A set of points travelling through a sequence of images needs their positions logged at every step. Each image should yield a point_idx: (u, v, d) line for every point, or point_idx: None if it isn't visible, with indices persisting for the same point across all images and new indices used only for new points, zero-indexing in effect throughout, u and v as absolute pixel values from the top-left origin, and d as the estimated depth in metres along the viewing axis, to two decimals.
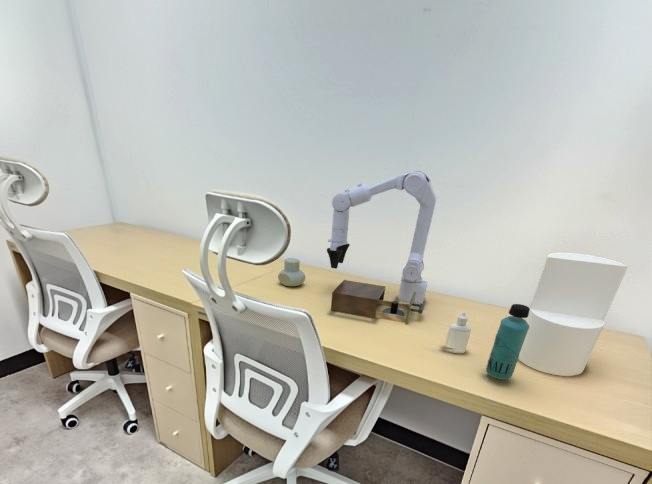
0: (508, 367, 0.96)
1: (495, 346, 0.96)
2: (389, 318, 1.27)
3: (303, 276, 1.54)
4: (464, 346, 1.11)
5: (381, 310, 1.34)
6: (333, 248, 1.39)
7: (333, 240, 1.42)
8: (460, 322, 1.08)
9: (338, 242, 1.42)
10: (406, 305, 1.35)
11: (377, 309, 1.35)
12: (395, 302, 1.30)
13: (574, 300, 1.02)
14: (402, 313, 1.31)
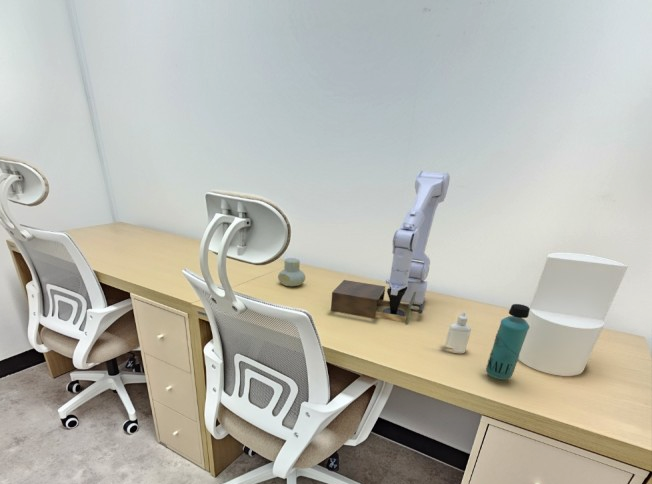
0: (508, 367, 0.96)
1: (495, 346, 0.96)
2: (389, 318, 1.27)
3: (303, 276, 1.54)
4: (464, 346, 1.11)
5: (381, 310, 1.34)
6: (394, 292, 1.21)
7: (393, 282, 1.25)
8: (460, 322, 1.08)
9: (399, 285, 1.24)
10: (406, 305, 1.35)
11: (377, 309, 1.35)
12: None
13: (574, 300, 1.02)
14: (402, 313, 1.31)
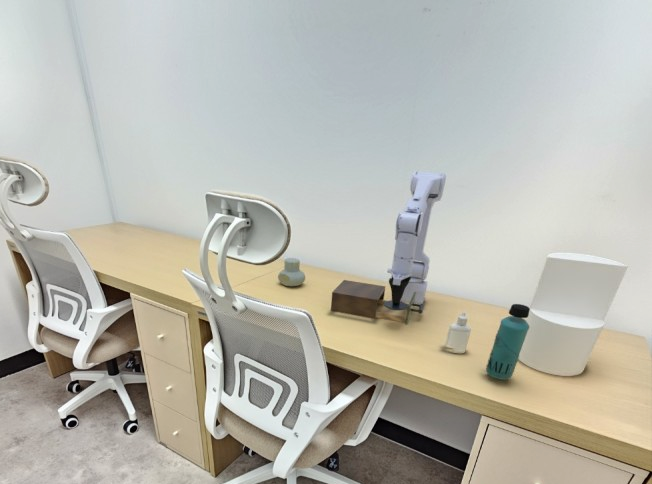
0: (508, 367, 0.96)
1: (495, 346, 0.96)
2: (389, 318, 1.27)
3: (303, 276, 1.54)
4: (464, 346, 1.11)
5: (381, 310, 1.34)
6: (397, 282, 1.10)
7: (395, 271, 1.13)
8: (460, 322, 1.08)
9: (402, 274, 1.13)
10: None
11: (377, 309, 1.35)
12: None
13: (574, 300, 1.02)
14: (405, 306, 1.19)
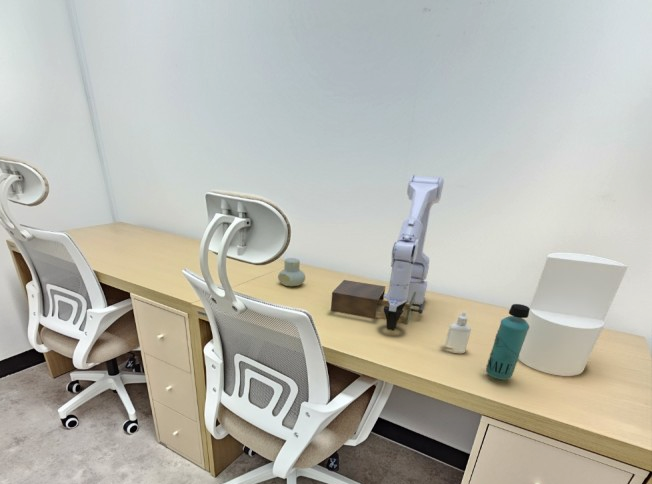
0: (508, 367, 0.96)
1: (495, 346, 0.96)
2: None
3: (303, 276, 1.54)
4: (464, 346, 1.11)
5: (381, 310, 1.34)
6: (393, 309, 1.12)
7: (391, 297, 1.16)
8: (460, 322, 1.08)
9: (397, 300, 1.15)
10: (406, 305, 1.35)
11: (377, 309, 1.35)
12: None
13: (574, 300, 1.02)
14: None
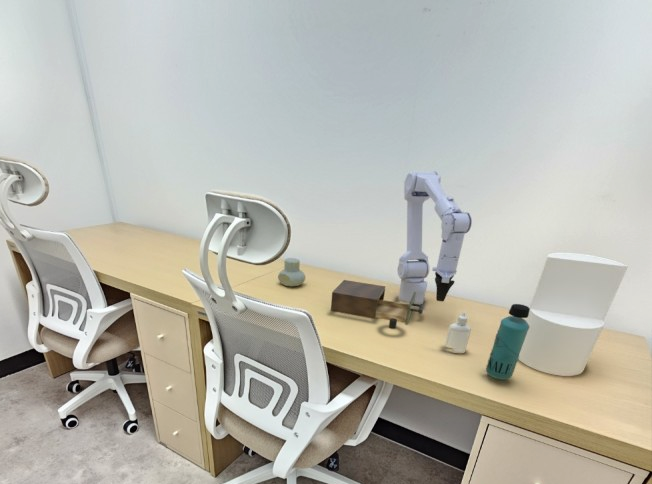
0: (508, 367, 0.96)
1: (495, 346, 0.96)
2: (389, 318, 1.27)
3: (303, 276, 1.54)
4: (464, 346, 1.11)
5: (381, 310, 1.34)
6: (446, 280, 1.14)
7: (441, 269, 1.18)
8: (460, 322, 1.08)
9: (448, 272, 1.17)
10: (406, 305, 1.35)
11: (377, 309, 1.35)
12: (393, 319, 1.21)
13: (574, 300, 1.02)
14: None
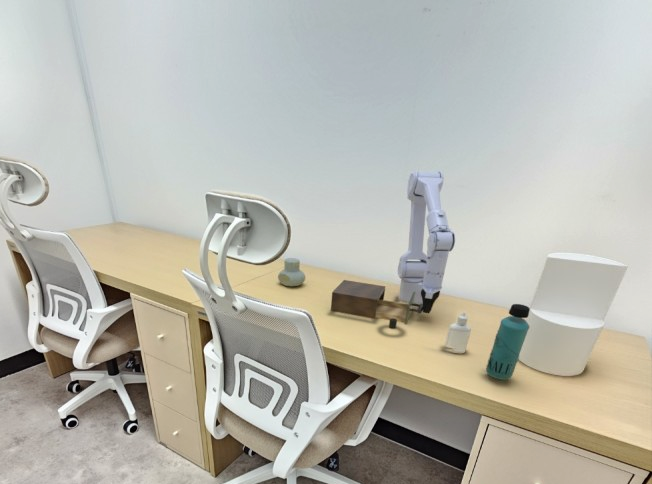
0: (508, 367, 0.96)
1: (495, 346, 0.96)
2: (388, 318, 1.27)
3: (303, 276, 1.54)
4: (464, 346, 1.11)
5: (380, 310, 1.34)
6: (429, 296, 1.18)
7: (426, 285, 1.22)
8: (460, 322, 1.08)
9: (433, 288, 1.21)
10: (405, 305, 1.35)
11: (376, 309, 1.35)
12: (393, 319, 1.21)
13: (574, 300, 1.02)
14: None
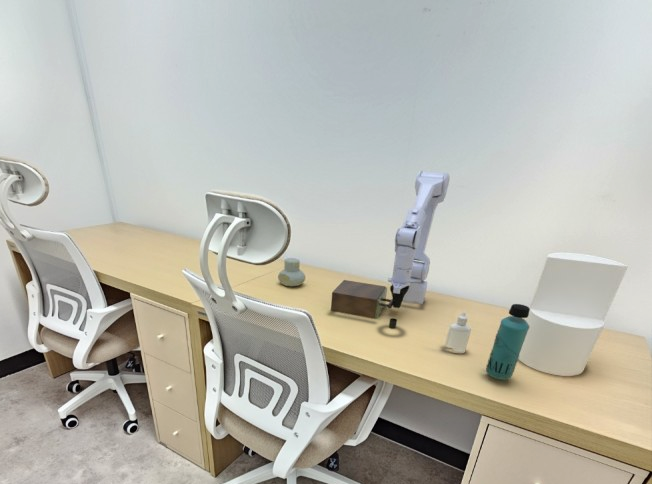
0: (508, 367, 0.96)
1: (495, 346, 0.96)
2: None
3: (303, 276, 1.54)
4: (464, 346, 1.11)
5: None
6: (397, 291, 1.21)
7: (395, 280, 1.25)
8: (460, 322, 1.08)
9: (401, 283, 1.24)
10: None
11: None
12: (393, 319, 1.21)
13: (574, 300, 1.02)
14: None
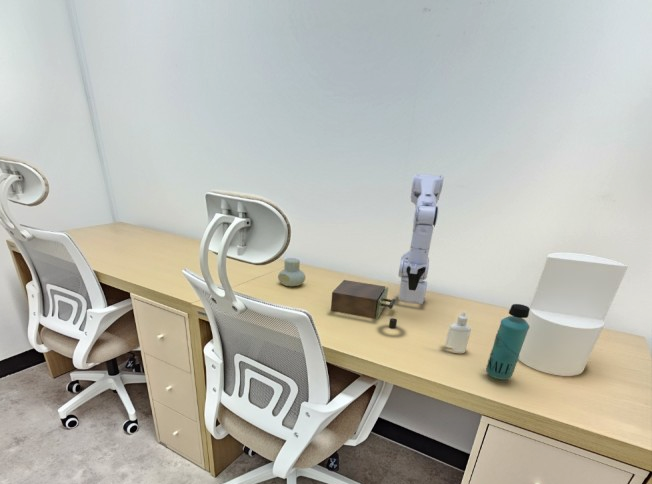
0: (508, 367, 0.96)
1: (495, 346, 0.96)
2: None
3: (303, 276, 1.54)
4: (464, 346, 1.11)
5: None
6: (414, 271, 1.17)
7: (412, 261, 1.21)
8: (460, 322, 1.08)
9: (418, 263, 1.20)
10: None
11: None
12: (393, 319, 1.21)
13: (574, 300, 1.02)
14: None
